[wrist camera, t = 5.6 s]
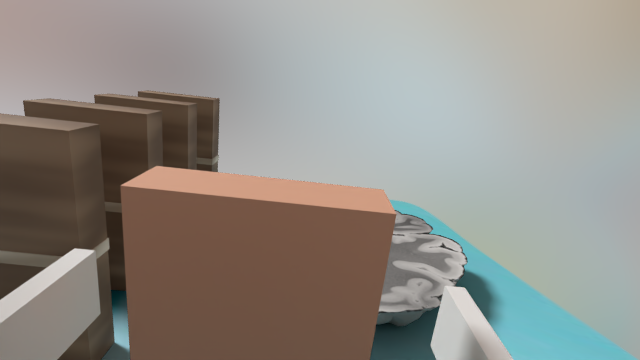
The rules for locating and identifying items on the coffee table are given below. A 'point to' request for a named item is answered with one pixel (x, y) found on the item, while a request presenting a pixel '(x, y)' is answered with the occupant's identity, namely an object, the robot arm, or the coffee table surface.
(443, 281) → the brain slice
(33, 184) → the domino
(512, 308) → the coffee table surface
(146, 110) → the domino
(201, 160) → the domino
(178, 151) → the domino
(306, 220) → the domino
